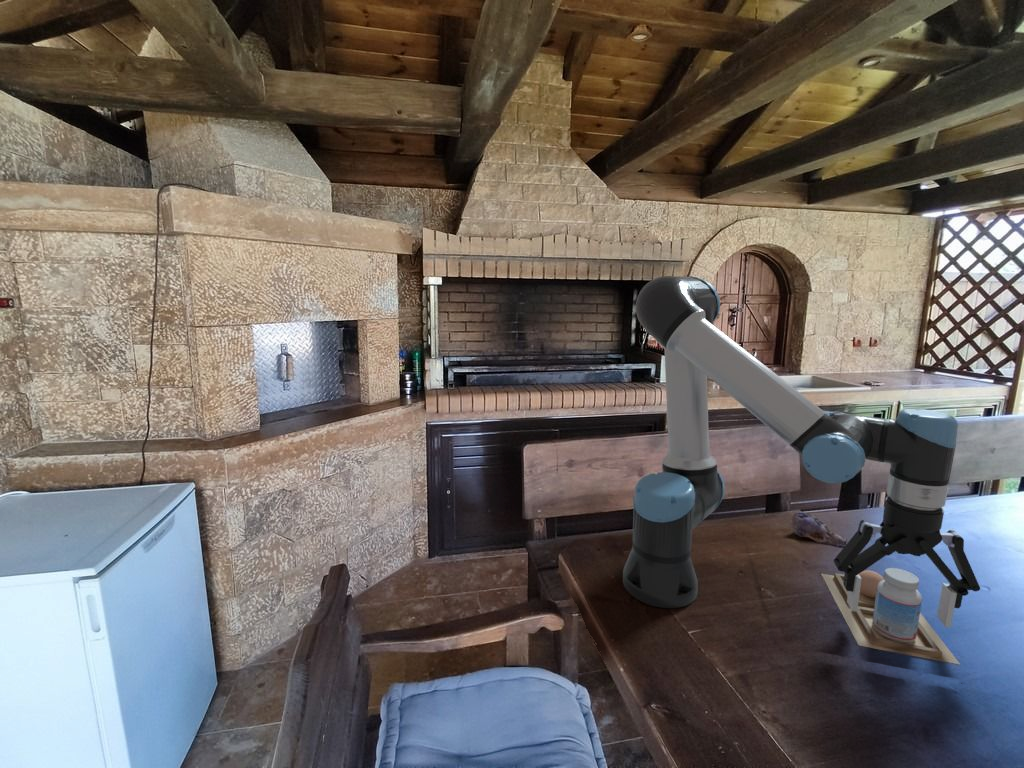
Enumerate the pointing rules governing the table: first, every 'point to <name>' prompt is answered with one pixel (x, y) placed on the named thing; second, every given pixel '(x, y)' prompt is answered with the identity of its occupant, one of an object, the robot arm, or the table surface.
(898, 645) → the tray
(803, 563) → the table surface
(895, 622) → the pill bottle
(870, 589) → the egg
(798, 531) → the skull
